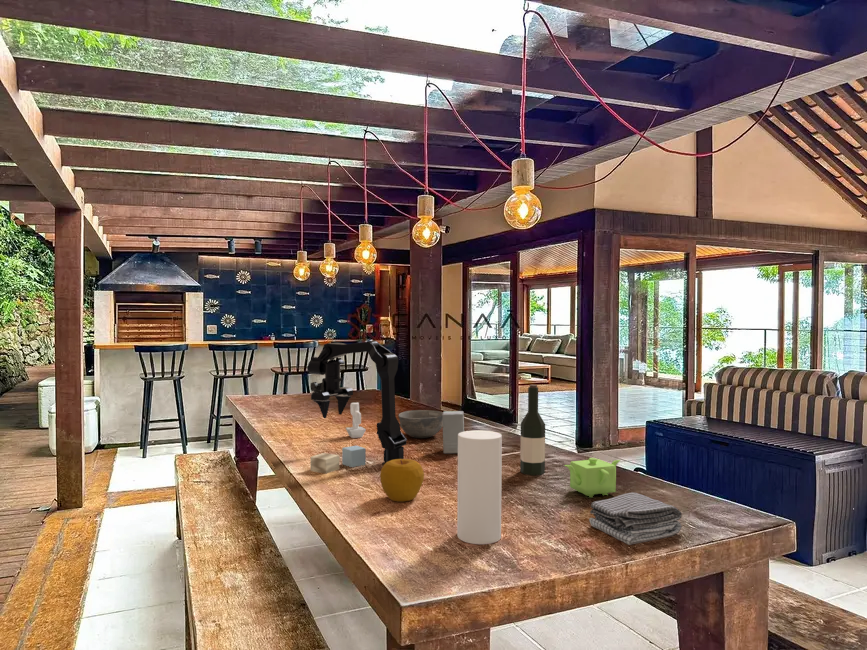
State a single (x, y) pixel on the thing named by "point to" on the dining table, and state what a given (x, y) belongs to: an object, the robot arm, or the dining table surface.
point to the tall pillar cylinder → (479, 486)
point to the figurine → (355, 422)
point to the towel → (635, 518)
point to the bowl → (421, 423)
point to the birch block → (324, 463)
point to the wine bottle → (532, 437)
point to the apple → (401, 479)
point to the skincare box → (452, 430)
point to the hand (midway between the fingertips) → (332, 416)
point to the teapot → (593, 476)
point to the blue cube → (353, 456)
